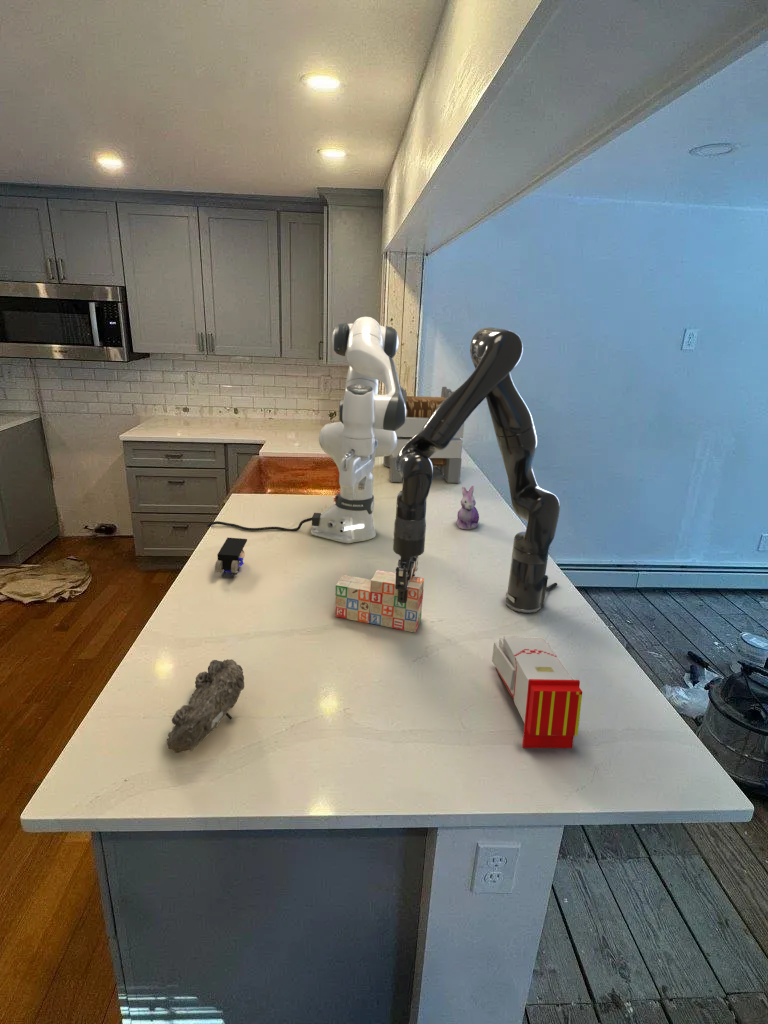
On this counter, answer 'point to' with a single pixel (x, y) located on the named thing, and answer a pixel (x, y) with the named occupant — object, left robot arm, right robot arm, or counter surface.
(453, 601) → the counter surface
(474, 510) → the figurine
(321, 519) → the left robot arm
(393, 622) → the stack of blocks
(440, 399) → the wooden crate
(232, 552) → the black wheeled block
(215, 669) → the fossil
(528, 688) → the toy
